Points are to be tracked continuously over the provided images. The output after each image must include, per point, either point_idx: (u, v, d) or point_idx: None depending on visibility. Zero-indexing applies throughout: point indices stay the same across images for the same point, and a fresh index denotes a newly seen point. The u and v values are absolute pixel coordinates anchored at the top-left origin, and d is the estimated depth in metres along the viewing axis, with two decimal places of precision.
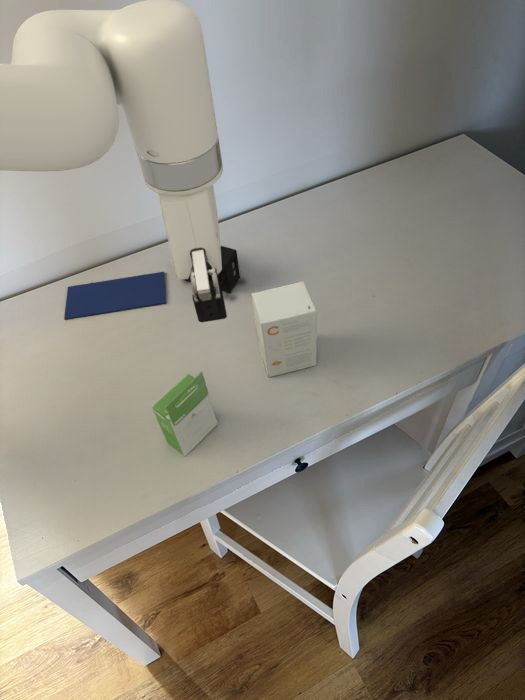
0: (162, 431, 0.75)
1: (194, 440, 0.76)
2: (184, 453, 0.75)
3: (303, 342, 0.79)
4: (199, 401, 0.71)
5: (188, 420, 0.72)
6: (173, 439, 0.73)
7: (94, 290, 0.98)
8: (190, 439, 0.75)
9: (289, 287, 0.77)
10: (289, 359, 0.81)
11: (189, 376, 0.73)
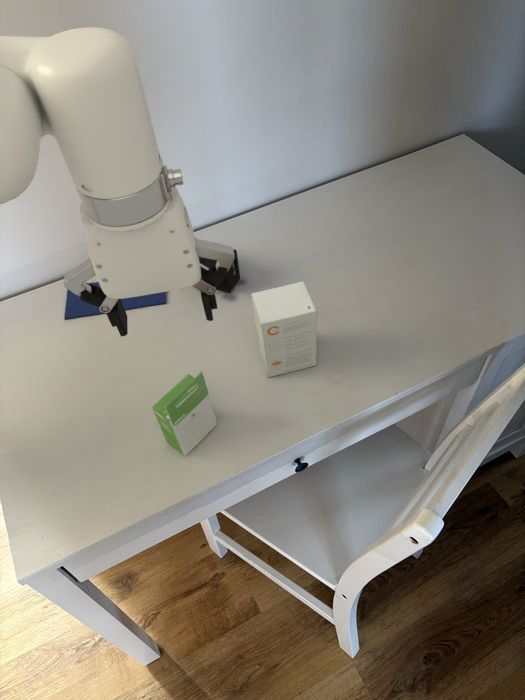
0: (162, 431, 0.75)
1: (194, 440, 0.76)
2: (184, 453, 0.75)
3: (303, 342, 0.79)
4: (199, 401, 0.71)
5: (188, 420, 0.72)
6: (173, 439, 0.73)
7: None
8: (190, 439, 0.75)
9: (289, 287, 0.77)
10: (289, 359, 0.81)
11: (189, 376, 0.73)
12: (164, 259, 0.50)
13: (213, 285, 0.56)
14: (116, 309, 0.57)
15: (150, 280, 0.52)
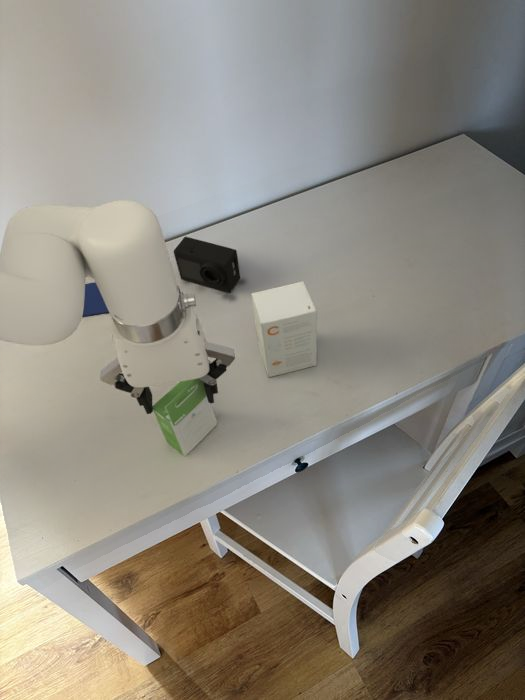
0: (162, 431, 0.75)
1: (194, 440, 0.76)
2: (184, 453, 0.75)
3: (303, 342, 0.79)
4: (199, 401, 0.71)
5: (188, 420, 0.72)
6: (173, 439, 0.73)
7: (94, 290, 0.98)
8: (190, 439, 0.75)
9: (289, 287, 0.77)
10: (289, 359, 0.81)
11: None
12: (179, 360, 0.61)
13: (214, 378, 0.67)
14: (144, 394, 0.67)
15: (167, 375, 0.63)
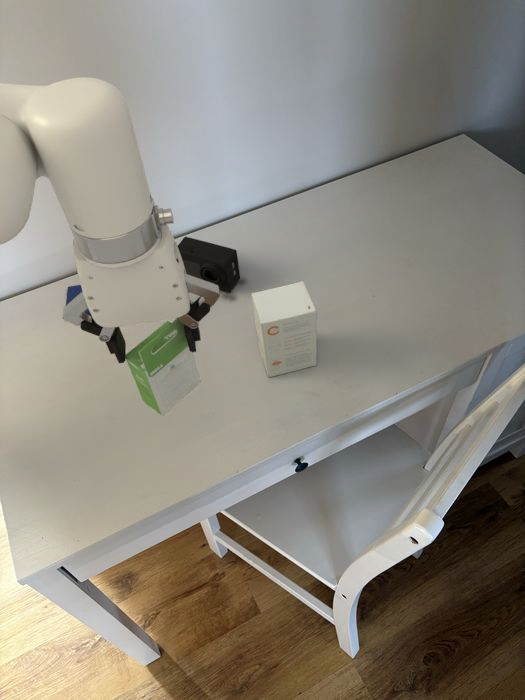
0: (137, 387, 0.66)
1: (173, 398, 0.67)
2: (162, 412, 0.67)
3: (303, 342, 0.79)
4: (179, 350, 0.63)
5: (166, 372, 0.63)
6: (149, 395, 0.65)
7: None
8: (169, 396, 0.66)
9: (289, 287, 0.77)
10: (289, 359, 0.81)
11: (168, 323, 0.64)
12: (154, 292, 0.52)
13: (196, 320, 0.58)
14: (115, 338, 0.59)
15: (140, 311, 0.54)
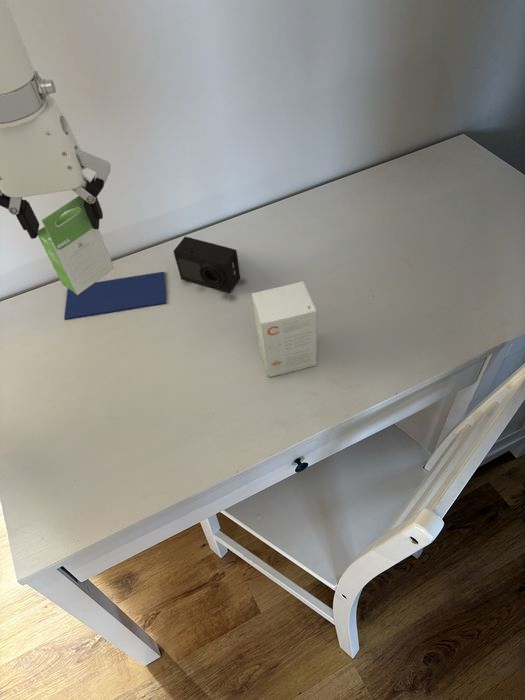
0: (54, 267, 0.75)
1: (86, 278, 0.76)
2: (76, 290, 0.76)
3: (303, 342, 0.79)
4: (85, 229, 0.72)
5: (74, 248, 0.72)
6: (62, 272, 0.74)
7: (94, 290, 0.98)
8: (81, 274, 0.75)
9: (289, 287, 0.77)
10: (289, 359, 0.81)
11: (77, 207, 0.73)
12: (46, 159, 0.61)
13: (92, 194, 0.67)
14: (24, 212, 0.68)
15: (38, 180, 0.63)
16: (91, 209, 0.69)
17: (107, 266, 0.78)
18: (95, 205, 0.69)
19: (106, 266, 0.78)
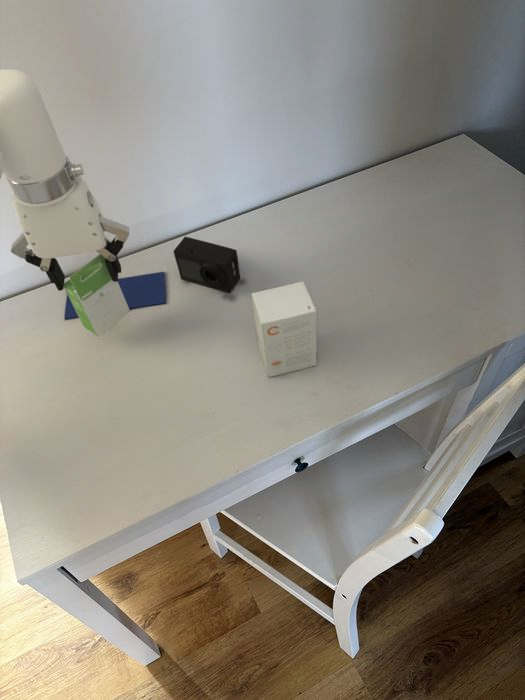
0: (77, 313, 0.85)
1: (106, 322, 0.85)
2: (97, 333, 0.85)
3: (303, 342, 0.79)
4: (106, 281, 0.81)
5: (96, 298, 0.81)
6: (85, 318, 0.83)
7: None
8: (101, 319, 0.84)
9: (289, 287, 0.77)
10: (289, 359, 0.81)
11: None
12: (74, 228, 0.70)
13: (113, 254, 0.76)
14: (53, 269, 0.77)
15: (67, 244, 0.72)
16: (111, 265, 0.78)
17: (124, 310, 0.87)
18: (115, 262, 0.78)
19: (123, 310, 0.87)
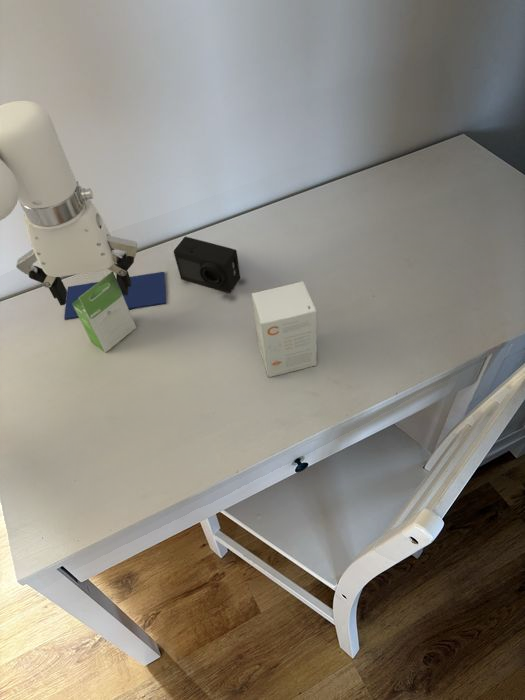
0: None
1: (113, 338, 0.89)
2: (104, 349, 0.88)
3: (303, 342, 0.79)
4: (113, 300, 0.84)
5: (104, 316, 0.84)
6: (93, 335, 0.86)
7: None
8: (108, 336, 0.87)
9: (289, 287, 0.77)
10: (289, 359, 0.81)
11: None
12: (83, 249, 0.73)
13: (124, 269, 0.79)
14: (55, 285, 0.79)
15: (76, 264, 0.75)
16: (122, 280, 0.80)
17: (130, 326, 0.90)
18: (125, 276, 0.80)
19: (129, 327, 0.90)
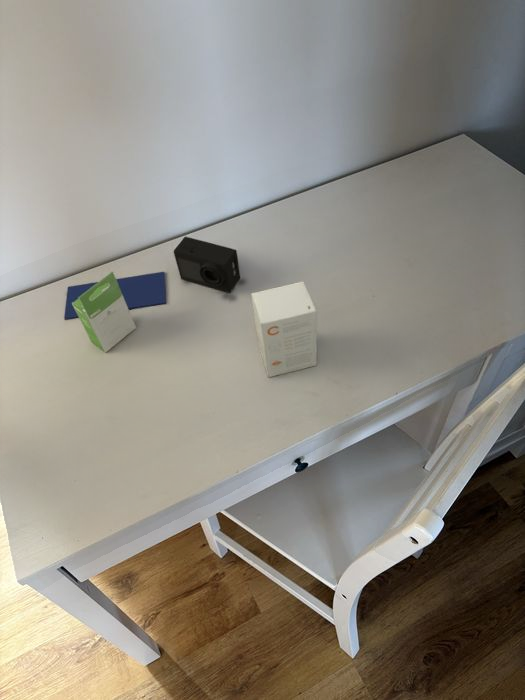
0: None
1: (113, 338, 0.89)
2: (104, 349, 0.88)
3: (303, 342, 0.79)
4: (113, 300, 0.84)
5: (104, 316, 0.84)
6: (93, 335, 0.86)
7: None
8: (108, 336, 0.87)
9: (289, 287, 0.77)
10: (289, 359, 0.81)
11: None
12: None
13: None
14: None
15: None
16: None
17: (130, 326, 0.90)
18: None
19: (129, 327, 0.90)
